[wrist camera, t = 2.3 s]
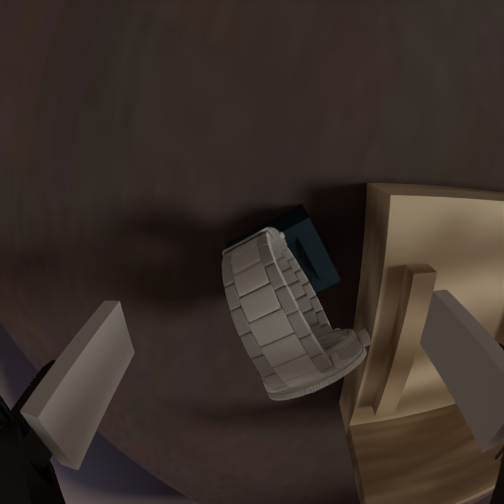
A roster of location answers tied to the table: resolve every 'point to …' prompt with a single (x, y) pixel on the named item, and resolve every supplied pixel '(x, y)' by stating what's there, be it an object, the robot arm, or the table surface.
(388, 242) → the display stand
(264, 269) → the watch
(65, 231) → the table surface
